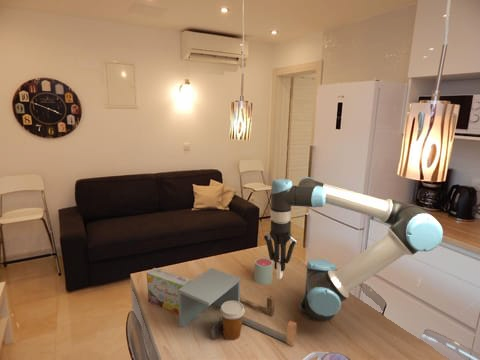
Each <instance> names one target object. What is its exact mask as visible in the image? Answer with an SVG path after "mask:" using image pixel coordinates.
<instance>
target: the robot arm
mask: <svg viewBox="0 0 480 360" xmlns="http://www.w3.org/2000/svg"><path fill="white" fill-rule="evenodd" d="M326 204H328V205H330V206H331V205H332V206H335V207H338V208H342V209H345V210H348V211H352V212H355V213H359V214H362V215H366V216H368V217H373V218H376V219H379V220H380V222H381V223H384V224H386V225H387V224H388V225H390V227H388V229H387V234H386V235H385V236H383V237H382V238H381V239H379V240H377V241H376V242H375V243H373V244H372V245H370V246H368V248H366V249H364V250H363V251H362V252H361V253H359V254H357V255H356V256H355V257H354V258H351V260H349V261H348V262H347V263H345V264H343V265H342V266H340V267H339V268H338V269H336V265H335V263H333V262H332V261H329V260H327V259H322V258H321V259H320V258H313V259H310V260H308V261H307V264H306V276H305V288H304V289H305V291H304V294H303V296H302V297H301V300H300V302H299V311H300V312H301V314H302V315H303V316H305V317H306V318H308V319H310V320H312V321H315V322H328V321H332V320H333V319H334V318H335V317H336V314H337V313H338V312H339V311H340V310H341V307H342V303H343V302H344V301H346V300H348V299H349V298H350V293H351V291H352V290H354V289H356V288H357V287H358V286H360V285H361V284H363V283H364V282H366V281H367V280H369V279H370V278H372V277H374V275H377V274H378V273H379V272H381V271H382V270H384V269H385V268H387V267H388V266H390V265H391V264H394V262H396V261H397V260H399V259H400V258H401V257H403V256H406V255H409V256H414V254H416V253H418V252H426V253H427V252H429V251H430V252H431V251H433V250H435V249H436V248H438V247H439V245H440V244H441V243H442V241H443V235H444V230H443V227H442V224H440V222H439V221H438V220H437V219H436V218H435V217H434V216H432V215H431V214H430V213H428V212H427V211H426V210H424V209H423V208H421V207H420V206H417V205H416V204H411V203H408V202H404V201H399V200H395V199H391V198H387V199H382V198H378V197H375V196H371V195H368V194H363V193H360V192H356V191H352V190H350V189H346V188H342V187H339V186H335V185H333V184H332V185H331V184H327V183H325V182H320V181H318V180H315V179H314V178H312V177H310V176H307V177H302V179H300V181H299V182H298V185H293V182H292V180H291V179H285V178H278V179H274V180H272V182H271V190H270V231H269V233H266V234H264V236H263V238H264V240H265V242H266V243H265V244H266V247H267V252H268V256H269V259H270V260H272V261H273V263H274V265H273V269H274V270H276V277H275V278H276V279H277V280H281V279H282V278H283V275H284V274H283V272H284V271H285V269H286V264H288V263H289V262H290V261H291V259H292V254H293V251H294V248H295V246H296V244H297V242H298V239H296V238H293V236H292V233H291V231H292V230H291V229H292V226H291V225H292V223H291V220H292V207H306V208H307V207H308V208H322V207H325V205H326ZM288 242H289V246H288V250H287V243H288ZM334 316H335V317H334Z"/></svg>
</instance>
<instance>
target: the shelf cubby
mask: <svg viewBox="0 0 480 360" xmlns="http://www.w3.org/2000/svg"><path fill="white" fill-rule="evenodd" d="M191 280H192V281H191V282H189V283H188V284H186V285H185V286H183V287H181V288H180V289H178V295H179V314H178V322H179V323H178V325H179V326H178V327H179V328H180V329H182V328H184V327H185V326H186V325H187V324H189V323H190V322H191V321H192V320H193V319H195V318H197V316H199V315H200V314H202V312H203V311H205V310H206V309H208V308H209V307H210V306H211V305H214V306H217V307H219V308H221V306H222V304H223V303H224V302H227V301H238V302H240V298H241V278H240V277H238V276H235V275H232V274H230V273H227V272H223V271H220V270H218V269H215V268H212V267H211V268H209V269H208V270H207V271H205V272H203V273H202V274H200V275H199V276H197V277H195V278H194V279H191Z"/></svg>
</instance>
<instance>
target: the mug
mask: <svg viewBox="0 0 480 360" xmlns="http://www.w3.org/2000/svg"><path fill="white" fill-rule="evenodd" d="M273 274H274V261H273V260H270V258H266V257H261V258H257V259H255V260H254V277H253V279H254V282H255V283H256V284H258V285H262V286H266V285H270V284H271V283H273Z"/></svg>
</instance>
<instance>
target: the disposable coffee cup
mask: <svg viewBox="0 0 480 360" xmlns="http://www.w3.org/2000/svg"><path fill="white" fill-rule="evenodd" d="M245 311H246V310H245V307H244V305H243V304H242V303H240V302H238V301H227V302H224V303H223V304H222V306H221V307H219V313H220V315H221V320H222V324H223V332H222V333H223V336H224V338H225V339H226V340H229V341H235V340H237V339H239V338H240V336H241V333H242V332H241V330H242V324H243V323H242V319H243V317H244V314H245Z"/></svg>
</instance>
